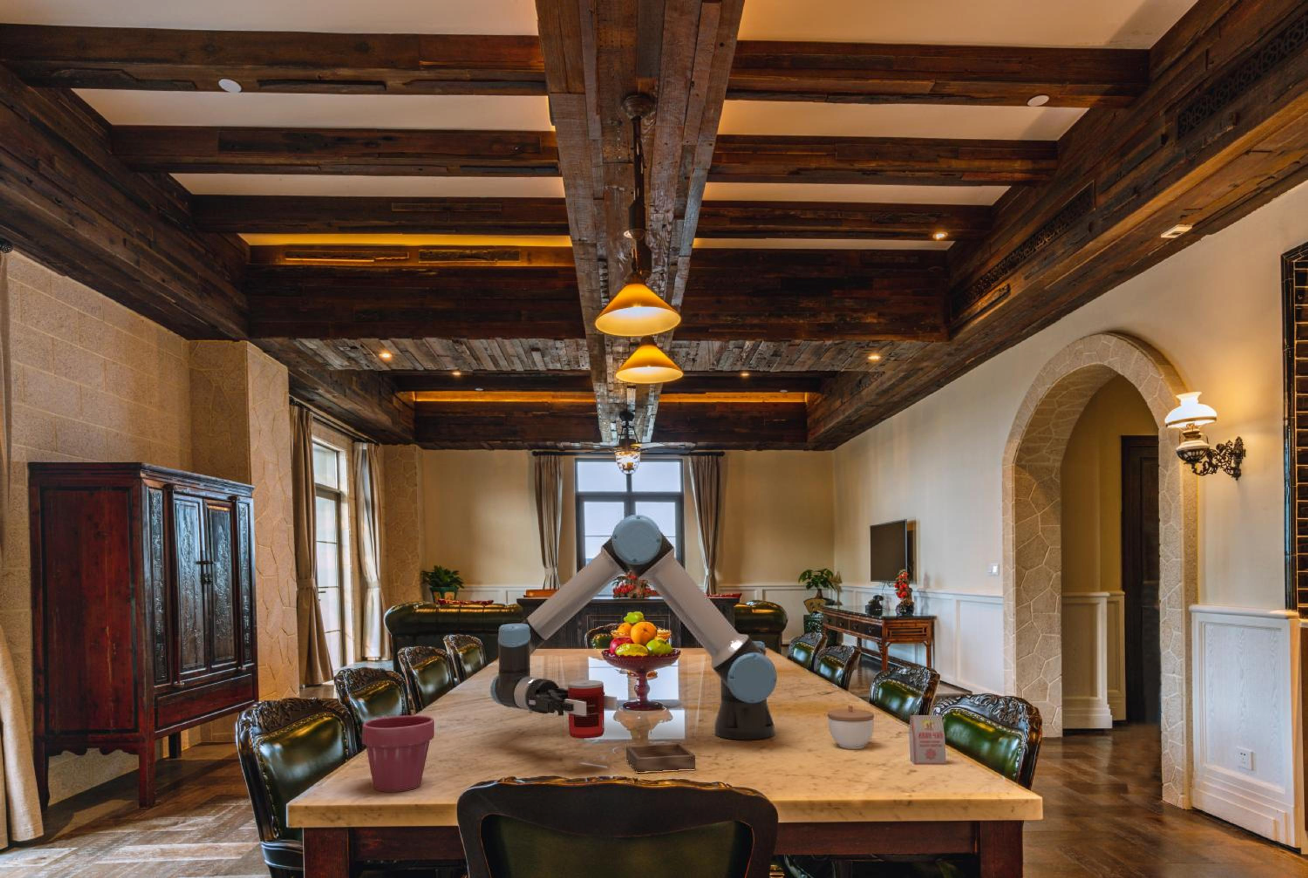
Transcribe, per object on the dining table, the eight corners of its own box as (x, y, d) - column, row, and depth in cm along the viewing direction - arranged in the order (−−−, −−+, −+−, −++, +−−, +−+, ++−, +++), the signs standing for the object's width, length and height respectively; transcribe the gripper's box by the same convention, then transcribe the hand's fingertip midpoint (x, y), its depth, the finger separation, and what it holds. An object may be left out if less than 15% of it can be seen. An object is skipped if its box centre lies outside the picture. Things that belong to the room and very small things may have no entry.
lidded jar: (837, 739, 216) (836, 700, 217) (880, 744, 210) (879, 703, 212) (822, 748, 207) (820, 707, 208) (867, 753, 201) (865, 711, 202)
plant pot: (370, 778, 184) (372, 715, 186) (438, 776, 185) (440, 713, 187) (352, 797, 170) (354, 728, 172) (426, 794, 171) (427, 726, 173)
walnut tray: (680, 756, 200) (680, 743, 200) (695, 770, 188) (695, 755, 188) (626, 760, 197) (626, 746, 198) (637, 774, 185) (637, 759, 185)
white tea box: (910, 760, 194) (908, 713, 195) (941, 760, 194) (939, 713, 195) (914, 764, 190) (912, 716, 192) (946, 764, 190) (943, 716, 191)
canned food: (590, 729, 195) (589, 678, 197) (612, 734, 189) (611, 682, 191) (561, 735, 190) (560, 682, 192) (582, 740, 184) (581, 686, 186)
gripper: (573, 705, 210) (637, 717, 194) (500, 718, 196) (561, 732, 180) (573, 673, 211) (636, 682, 194) (500, 683, 197) (561, 694, 181)
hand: (600, 706), depth 187 cm, fingers closed on canned food, 8 cm apart
